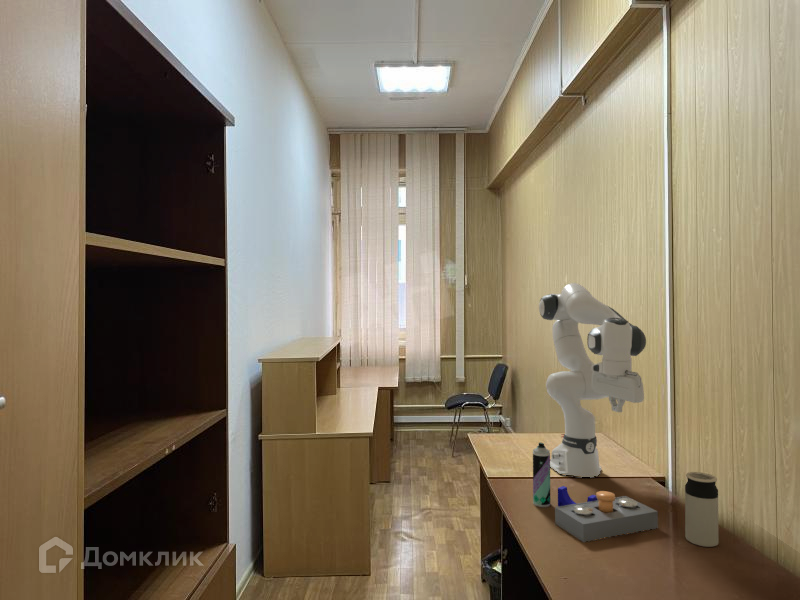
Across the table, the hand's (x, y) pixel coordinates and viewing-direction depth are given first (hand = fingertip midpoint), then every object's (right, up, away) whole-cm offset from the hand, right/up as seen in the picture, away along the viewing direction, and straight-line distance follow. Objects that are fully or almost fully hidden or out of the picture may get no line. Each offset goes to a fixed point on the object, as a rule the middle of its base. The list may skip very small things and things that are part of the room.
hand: (616, 411), depth 173 cm
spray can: (-24, -31, +3) cm, 39 cm away
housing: (-9, -31, -15) cm, 35 cm away
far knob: (-2, -31, -12) cm, 33 cm away
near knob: (-17, -31, -17) cm, 39 cm away
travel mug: (+13, -31, -25) cm, 42 cm away
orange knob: (-9, -28, -15) cm, 33 cm away
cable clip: (-13, -31, -2) cm, 34 cm away
